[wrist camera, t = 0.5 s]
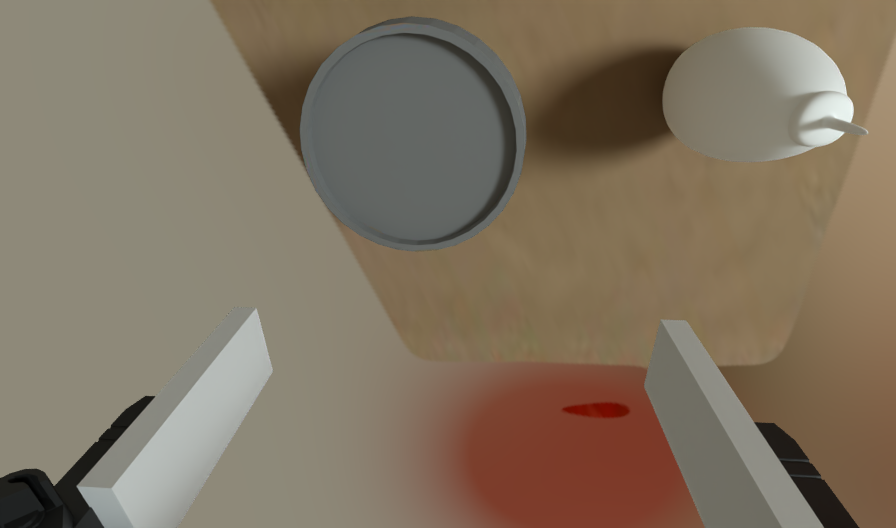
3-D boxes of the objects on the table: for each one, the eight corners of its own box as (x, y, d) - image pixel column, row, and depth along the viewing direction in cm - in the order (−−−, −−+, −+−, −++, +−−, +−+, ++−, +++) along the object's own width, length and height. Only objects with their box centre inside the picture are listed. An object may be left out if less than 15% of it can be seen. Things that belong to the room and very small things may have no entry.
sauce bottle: (761, 22, 33) (1020, 22, 17) (736, 132, 36) (929, 216, 20) (649, 30, 33) (796, 36, 18) (636, 137, 37) (747, 221, 21)
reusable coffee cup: (337, 127, 39) (259, 181, 25) (411, -19, 33) (361, -46, 20) (459, 205, 41) (446, 291, 28) (546, 82, 36) (582, 116, 22)
